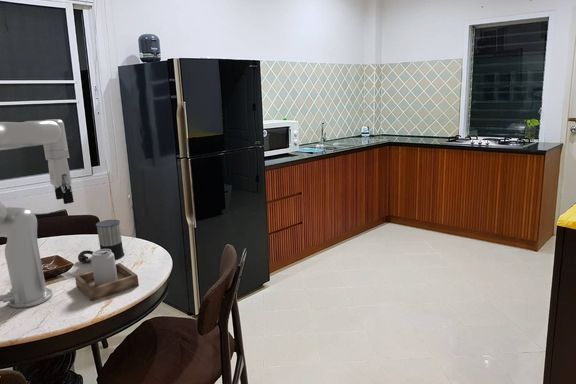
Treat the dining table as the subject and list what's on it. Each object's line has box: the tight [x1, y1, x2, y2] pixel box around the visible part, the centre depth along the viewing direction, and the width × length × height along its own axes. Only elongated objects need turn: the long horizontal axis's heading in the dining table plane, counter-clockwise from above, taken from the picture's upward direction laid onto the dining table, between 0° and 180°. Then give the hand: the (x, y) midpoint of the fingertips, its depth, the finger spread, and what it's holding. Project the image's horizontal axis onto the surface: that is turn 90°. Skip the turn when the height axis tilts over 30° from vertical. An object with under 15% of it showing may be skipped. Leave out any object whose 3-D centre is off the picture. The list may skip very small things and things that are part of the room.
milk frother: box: [77, 219, 125, 264], centre depth 180 cm, size 14×16×15 cm
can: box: [90, 249, 118, 286], centre depth 154 cm, size 8×8×12 cm
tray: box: [74, 262, 140, 302], centre depth 155 cm, size 16×16×4 cm
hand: (64, 200), depth 162 cm, fingers open, 9 cm apart
